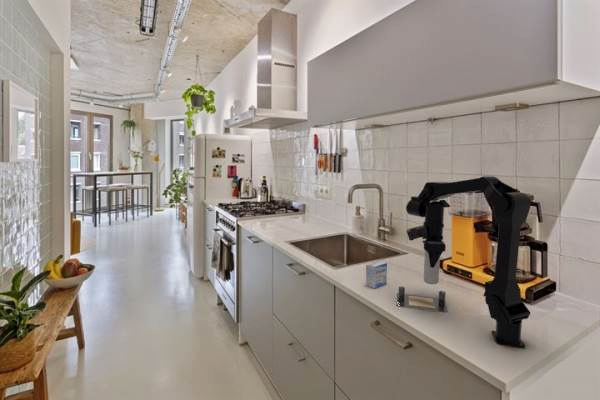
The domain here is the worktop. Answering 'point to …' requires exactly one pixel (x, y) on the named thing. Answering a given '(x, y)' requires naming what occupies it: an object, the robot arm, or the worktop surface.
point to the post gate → (422, 301)
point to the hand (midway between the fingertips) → (431, 265)
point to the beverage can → (431, 271)
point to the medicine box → (376, 274)
